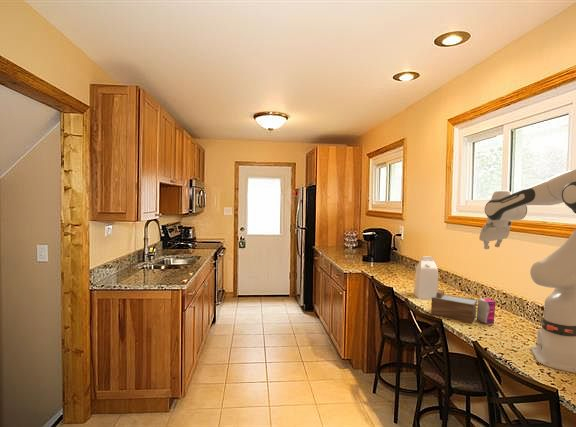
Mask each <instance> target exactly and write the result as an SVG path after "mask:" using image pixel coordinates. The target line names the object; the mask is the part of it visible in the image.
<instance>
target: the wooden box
mask: <svg viewBox="0 0 576 427" xmlns="http://www.w3.org/2000/svg"><path fill="white" fill-rule="evenodd" d="M446 295H447V296H451V294H450V295H449V294H446ZM452 296H453V297H457V295H456V296H455V295H452ZM458 297H459V298H463V297H461V296H458ZM465 299H468V298H465ZM470 300H474V299H471V298H470ZM475 300H476V304H475V305H472V304H466V303H461V302H455V301H449V300H444V299H438V298H432V299H431V307H430V315H431V316H434V317H439V318H445V319H450V320H455V321H460V322H465V323H469V324H474V321H475V319H477V307H478V299H475Z"/></svg>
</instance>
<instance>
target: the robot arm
mask: <svg viewBox="0 0 576 427" xmlns="http://www.w3.org/2000/svg"><path fill="white" fill-rule="evenodd" d="M562 203H564V205H566V207H568V208H569V209H571V211H572V212H573V213H574V214H576V168H575V169H571V170H567V171H563V172H560V173H558V174H556V175H554V176H552V177H550V178H547V179H546V180H545V179H544V181H541V182H539V183H537V184H535V185H532V186H530V187H527V188H524V189H522V190H519V191H516V192H514V193H513V192H512V191H509V190H495V191H494V192H493V194H492V196H491V199H490V200H488V202H487V203H486V204H485V206H484V213H485V215H486V217H487V218H486V222H485V224H484V225H483V226H482V227H481V230H480V233H479V236H478V237H479V241H481V242H483V245H484V246H483V249H485V250H489V249H490V245H489V243H490V242H492V241H493V242H494V241H496V242H495V243H494V248H495V247H496V248H500V246H501V244H502V242H503V240H504V239H505V240H506V239H508V237H509V235H510V231H511V226H512V225H513V221H520V220H523V219H524V218H526V215H527V213H528V206H554V205H559V204H562ZM529 272H530V277H531V280H532V282H534V283H535V284H536V285H538V286H540V287H541V286H542V287H545V288H550V289H552V288H553V289H554V290H553V291H552V293H551V294H550V295H548V296H547V297H546V298H545V300H544V306H543V308H544V309H543V317H542V319H541V328H539V329H538V330H537V332H536V341H535V346H533V345H532V346H530V348H529V350H530V349H531V350H532V352H533V353H532V352H531V353H532V355H533V354H534V355H533V357H534V356H535V357H534V359H535V358H536V359H535V361H536V360H537V361H538V362H539V363H538V362H537V361H536V362H537V363H538V364H540V363H541V364H540V365H542V364H543V366H545V367H548V368H551V369H556V370H559V371H564V372H568V373H572V374H573V373H575V374H576V228H575V229H574V231H573V232H572V233H571V234H570V236H569V237H568V238H567V240H566V241H565V242H564V243H563V244H562V245H561V246H560V247H558V248H557V249H556V250H555V251H553V252H552V253H551V254H549V255H548V256H547V257H545V258H543V259H542V260H539V261H536V262H534V263H533V264H532V266H531V267H530V271H529ZM531 350H530V351H531Z"/></svg>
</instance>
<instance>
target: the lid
mask: <svg viewBox="0 0 576 427" xmlns="http://www.w3.org/2000/svg"><path fill="white" fill-rule="evenodd" d="M447 295H448V294H445V291H444V290H441V289H440V290H439V289H438V292H437V294H436V295H434V296H433V297H432V298H438V299H444V300H449V301H455V302H461V303H466V304H472V305H475V304H476V300H477V299H475V300H470V299H471V298H470V299H465V298H464V297H462V298H459V297H460V296H456V297H453V296H454V295H450V296H447Z"/></svg>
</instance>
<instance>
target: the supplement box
mask: <svg viewBox="0 0 576 427" xmlns="http://www.w3.org/2000/svg"><path fill="white" fill-rule="evenodd" d="M496 303H497V302H496V300H492V299H490V298H478V299H477V307H476V322H477V321H478V322H479V321H480V323H482V324H484V325H486V324H494V323H495V316H496V315H495V313H496Z"/></svg>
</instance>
